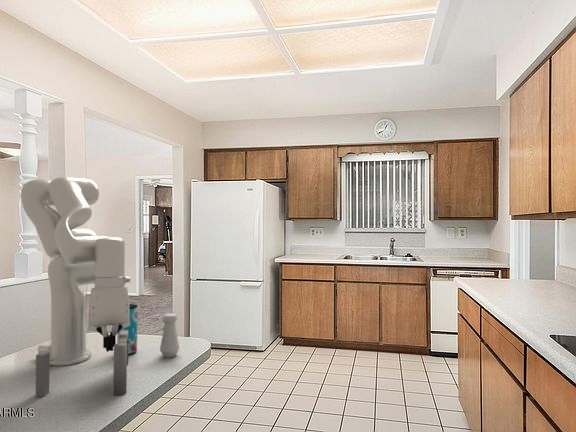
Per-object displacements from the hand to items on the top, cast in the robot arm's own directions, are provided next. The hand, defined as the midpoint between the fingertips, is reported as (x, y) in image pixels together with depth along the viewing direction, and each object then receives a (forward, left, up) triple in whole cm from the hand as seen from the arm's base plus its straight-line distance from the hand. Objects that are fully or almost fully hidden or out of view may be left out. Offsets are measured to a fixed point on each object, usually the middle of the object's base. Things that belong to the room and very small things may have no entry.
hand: (109, 349), depth 114 cm
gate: (+4, -2, -6) cm, 7 cm away
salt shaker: (+12, +17, -8) cm, 22 cm away
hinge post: (+7, -11, -7) cm, 15 cm away
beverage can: (-2, +20, -8) cm, 21 cm away
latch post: (-12, -11, -7) cm, 18 cm away
